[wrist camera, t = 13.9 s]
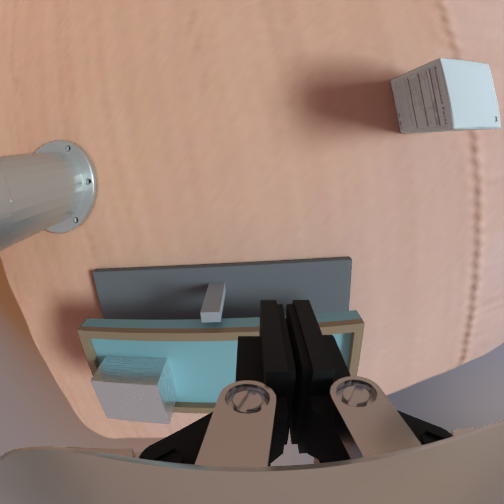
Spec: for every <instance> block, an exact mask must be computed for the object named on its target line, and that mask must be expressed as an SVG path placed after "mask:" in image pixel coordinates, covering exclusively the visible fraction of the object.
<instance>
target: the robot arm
mask: <svg viewBox="0 0 504 504" xmlns="http://www.w3.org/2000/svg"><path fill="white" fill-rule="evenodd" d="M70 147H71V149H70ZM90 179H91V182H90ZM96 190H97V182H96V174H95V170H94V167H93V164H92V162H91V160H90V158H89V157H88V155H87V154H86V152H85V151H84V150H83V149H82V148H81V147H79V146H78V145H76V144H75V143H72V142H70V141H64V140H55V141H51V142H48V143H46V144H44V145H42V146H41V147H40V148H39V149H37V150H36V152H35V153H32V154H20V155H9V156H0V251H1V250H3V249H5V248H7V247H9V246H11V245H13V244H15V243H17V242H19V241H22V240H24V239H26V238H28V237H30V236H32V235H34V234H36V233H39V232H41V231H43V230H45V229H46V230H47V231H50V232H54V233H64V232H69V231H71V230H73V229H75V228H76V227H78V226H80V225H81V224H82V223H83V222H84V221H85V220H86V219H87V217H88V216H89V214H90V212H91V210H92V208H93V206H94V202H95V198H96ZM289 428H290V434H291V442H292V444H298V449H299V453H308V454H309V455H311V456H313V457H314V464H308V465H293V466H292V465H291V466H270V463H272V462H273V461H274V460H275V459H277V458H278V457H279V456H280V455H281V454H283V449H284V445H286V444H287V440H288V434H289ZM0 504H504V419H503V420H500V421H497V422H494V423H492V424H489V425H486V426H481V427H473V428H463V429H452V431H451V432H450V433H449V432H448V431H446V430H444V429H443V428H441V427H438V426H435V425H433V424H430V423H428V422H425V421H422V420H420V419H417V418H415V417H412V416H410V415H407V414H405V413H402V412H400V411H398V410H396V408H395V407H394V406H393V404H392V403H391V402H390V400H389V399H388V398H387V396H386V395H385V393H384V392H383V391H382V389H381V388H380V387H379V386H378V385H377V384H376V383H375V382H373V381H371V380H370V379H367V378H364V377H358V376H351V375H350V373H349V370H348V368H347V366H346V363H345V361H344V359H343V356H342V354H341V352H340V349H339V347H338V345H337V342H336V340H335V338H334V336H333V335H322V332H321V330H320V327H319V324H318V322H317V319H316V317H315V314H314V311H313V309H312V306H311V304H310V301H309V300H293V301H292V304H287V306H286V319H285V314H284V309H283V305H282V304H277V301H276V300H260V329H259V336H238V345H237V362H236V380H235V382H234V383H231V384H229V385H227V386H226V387H225V388H223V389H222V391H221V393H220V394H219V397H218V400H217V403H216V405H215V408H214V411H213V412H211V413H210V414H208V415H206V416H204V417H203V418H201V419H199V420H197V421H196V422H194V423H192V424H190V425H188V426H187V427H185V428H183V429H181V430H179V431H177V432H175V433H174V434H172V435H170V436H168V437H166V438H164V439H162V440H160V441H158V442H156V443H154V444H152V445H150V446H149V447H147V448H146V449H145V450H144V451H143V452H134V451H133V449H105V448H81V447H53V446H43V447H25V448H19V449H14V450H11V451H9V452H7V453H5V454H4V455H2V456H1V457H0Z"/></svg>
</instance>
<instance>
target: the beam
mask: <svg viewBox="0 0 504 504" xmlns="http://www.w3.org/2000/svg"><path fill="white" fill-rule="evenodd" d="M315 317H316V319H317V322H318V324H319V327H320V330H321V332H322V335H333V336H334V338H335V340H336V342H337V345H338V347H339V349H340V352H341V354H342V356H343V359H344V361H345V363H346V366H347V368H348V370H349V373H350V375H351V376H357V371H358V365H359V359H360V352H361V345H362V338H363V330H364V322H363V320H362V318H361V317H360V315H359V314H358V312H357V310H354V311H343V312H331V313H319V314H315ZM285 319H286V316H285ZM259 329H260V317H253V318H228V319H221V322H205V323H202V322H201V319H184V320H133V319H91V318H87V320H86V321H85V322H84V323H83V324H82V325H81V326H80V328H79V329H78V330H77V332H78V335H79V338H80V341H81V344H82V347H83V350H84V353H85V356H86V358H87V361H88V364H89V367H90V369H91V372H92V375H94V374H95V372H96V371H97V369H98V368H99V366H100V364H101V363H102V361H103V360H104V358H105V357H106V356H124V357H155V358H168V362H169V366H170V370H171V374H172V378H173V382H174V385H175V389H176V393H177V399H176V403H175V406H174V410H173V412H179V413H211V412H213V411H214V408H215V405H216V403H217V400H218V397H219V394H220V393H221V391H222V389H223V388H225V387H226V386H227V385H229V384H231V383H234V382H235V380H236V362H237V345H238V336H259Z"/></svg>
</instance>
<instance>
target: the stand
mask: <svg viewBox="0 0 504 504" xmlns="http://www.w3.org/2000/svg"><path fill="white" fill-rule="evenodd" d="M351 268H352V259H351V258H350V257H335V258H318V259H299V260H281V261H262V262H242V263H222V264H201V265H179V266H157V267H134V268H109V269H96V270H94V271H93V276H94V281H95V285H96V290H97V294H98V298H99V302H100V306H101V310H102V314H103V318H104V319H133V320H184V319H201V322H202V323H205V322H221V319H228V318H253V317H260V300H276V301H277V304H282V305H283V309H284V314H285V316H286V306H287V304H292V301H293V300H309V301H310V304H311V306H312V309H313V311H314V314H319V313H331V312H343V311H349V298H350V285H351Z"/></svg>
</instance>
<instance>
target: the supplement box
mask: <svg viewBox="0 0 504 504" xmlns="http://www.w3.org/2000/svg"><path fill="white" fill-rule="evenodd" d="M390 82H391V87H392V91H393V96H394V101H395V106H396V111H397V116H398V122H399V127H400V132H401V133H402V134H404V133H429V132H443V131H462V130H481V129H501V121H500V114H499V108H498V103H497V98H496V93H495V88H494V84H493V79H492V75H491V71H490V68H489V65H488V64H486V63H481V62H474V61H467V60H458V59H448V58H439V59H436V60H434V61H432V62H429V63H427V64H425V65H423V66H420V67H418V68H416V69H413V70H411V71H409V72H407V73H405V74H403V75H401V76H399V77H396V78H395V79H392V80H391V81H390Z"/></svg>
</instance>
